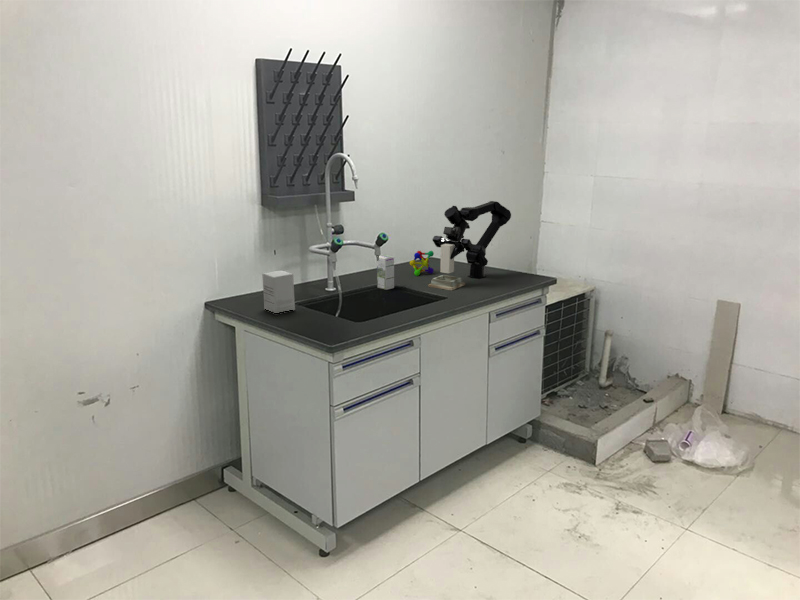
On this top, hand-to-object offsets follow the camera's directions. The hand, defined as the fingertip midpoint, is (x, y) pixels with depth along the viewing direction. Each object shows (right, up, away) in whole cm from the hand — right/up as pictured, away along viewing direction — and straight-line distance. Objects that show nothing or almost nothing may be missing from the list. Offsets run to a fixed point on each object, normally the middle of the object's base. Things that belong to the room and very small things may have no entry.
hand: (445, 258), depth 284 cm
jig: (+1, -12, +5) cm, 13 cm away
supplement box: (-68, -23, -35) cm, 80 cm away
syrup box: (-27, -14, 0) cm, 30 cm away
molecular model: (-10, -6, +28) cm, 30 cm away
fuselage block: (+1, -6, +3) cm, 7 cm away
